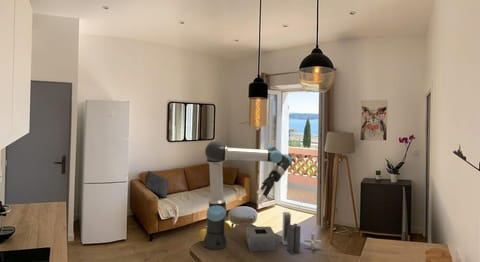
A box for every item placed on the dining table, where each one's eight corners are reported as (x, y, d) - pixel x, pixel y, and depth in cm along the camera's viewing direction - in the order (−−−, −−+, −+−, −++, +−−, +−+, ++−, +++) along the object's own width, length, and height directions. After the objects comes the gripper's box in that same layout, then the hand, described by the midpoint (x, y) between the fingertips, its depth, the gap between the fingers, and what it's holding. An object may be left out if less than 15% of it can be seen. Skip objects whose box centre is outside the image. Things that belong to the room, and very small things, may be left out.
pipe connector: (321, 253, 179) (321, 237, 178) (304, 251, 181) (304, 235, 180) (320, 246, 189) (320, 231, 188) (304, 244, 191) (304, 229, 190)
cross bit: (285, 252, 179) (286, 226, 178) (288, 247, 186) (289, 222, 185) (298, 255, 176) (298, 228, 175) (300, 250, 183) (301, 224, 182)
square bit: (283, 245, 189) (284, 214, 188) (282, 242, 193) (283, 212, 192) (289, 244, 190) (290, 214, 189) (288, 242, 194) (289, 212, 193)
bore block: (249, 251, 179) (250, 236, 179) (246, 240, 195) (246, 226, 195) (275, 250, 181) (275, 236, 181) (270, 239, 197) (270, 226, 197)
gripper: (282, 167, 182) (264, 192, 172) (280, 185, 202) (263, 209, 192) (272, 161, 185) (253, 186, 175) (270, 180, 205) (253, 203, 195)
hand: (258, 198), depth 184 cm, fingers open, 13 cm apart
